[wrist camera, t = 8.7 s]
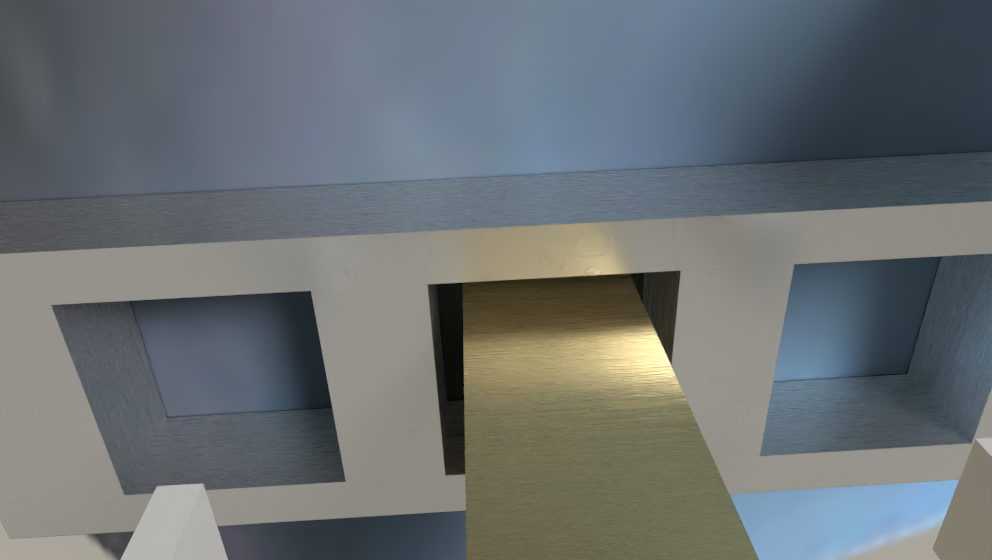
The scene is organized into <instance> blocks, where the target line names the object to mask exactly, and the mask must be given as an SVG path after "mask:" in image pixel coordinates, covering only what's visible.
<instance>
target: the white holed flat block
mask: <svg viewBox="0 0 992 560" xmlns="http://www.w3.org/2000/svg"><path fill="white" fill-rule="evenodd" d="M937 256H941V259H940V263H939V266H938V270H937V273H936V277H935V280H934V284H933V287H932V290H931V294H930V297H929V301H928V304H927V308H926V311H925V315H924V318H923V321H922V325H921V328H920V332H919V335H918V339H917V342H916V346H915V349H914V352H913V356H912V359H911V363H910V366H909V370H908V373H907V374H903V375H886V376H869V377H852V378H835V379H818V380H801V381H784V382H773V380H774V374H775V369H776V363H777V358H778V352H779V347H780V341H781V336H782V330H783V325H784V319H785V314H786V308H787V303H788V297H789V292H790V286H791V281H792V275H793V270H794V264H809V263H827V262H846V261H864V260H882V259H900V258H918V257H937ZM627 273H644V286H643V300H642V303H643V305H644V307H645V309H646V311H647V314H648V316H649V318H650V320H651V322H652V325H653V327H654V329H655V331H656V333H657V336H658V338H659V340H660V342H661V345H662V347H663V349H664V351H665V353H666V356H667V358H668V360H669V362H670V364H671V367H672V369H673V371H674V373H675V375H676V378H677V380H678V382H679V384H680V386H681V389H682V391H683V393H684V395H685V398H686V400H687V402H688V404H689V406H690V409H691V411H692V413H693V415H694V417H695V420H696V422H697V424H698V426H699V428H700V431H701V433H702V435H703V437H704V439H705V442H706V444H707V446H708V448H709V451H710V453H711V455H712V457H713V459H714V462H715V464H716V466H717V468H718V470H719V473H720V475H721V477H722V479H723V481H724V484H725V486H726V488H727V490H728V492H729V494H737V493H753V492H769V491H785V490H801V489H817V488H833V487H849V486H865V485H881V484H897V483H913V482H929V481H945V480H960V477H961V475H962V472H963V469H964V467H965V464H966V462H967V459H968V456H969V454H970V451H971V449H972V446H973V444H974V441H975V439H979V438H992V152H973V153H954V154H934V155H915V156H895V157H876V158H856V159H837V160H817V161H798V162H778V163H759V164H739V165H720V166H700V167H681V168H661V169H642V170H622V171H603V172H583V173H564V174H544V175H525V176H505V177H486V178H466V179H447V180H427V181H408V182H388V183H369V184H349V185H330V186H311V187H291V188H272V189H252V190H233V191H213V192H194V193H174V194H155V195H135V196H116V197H96V198H77V199H57V200H38V201H18V202H0V520H1V522H2V524H3V526H4V528H5V530H6V532H7V533H8V536H9V538H10V539H17V538H33V537H49V536H65V535H81V534H97V533H113V532H129V531H135V530H136V528H137V526H138V524H139V522H140V520H141V518H142V516H143V514H144V512H145V510H146V508H147V505H148V503H149V501H150V499H151V497H152V495H153V493H154V491H155V489H156V487H157V486H169V485H186V484H204V487H205V491H206V494H207V497H208V500H209V503H210V506H211V509H212V512H213V515H214V518H215V521H216V524H217V526H225V525H241V524H257V523H273V522H289V521H305V520H321V519H337V518H353V517H369V516H385V515H401V514H417V513H433V512H449V511H465V510H466V491H465V418H464V400H461V401H447V397H446V385H445V374H444V362H443V351H442V339H441V328H440V316H439V305H438V293H437V284H444V283H462V282H481V281H499V280H517V279H535V278H554V277H572V276H590V275H608V274H627ZM298 291H311V295H312V300H313V305H314V311H315V316H316V322H317V327H318V333H319V338H320V344H321V349H322V355H323V360H324V365H325V371H326V376H327V382H328V387H329V393H330V398H331V404H332V408H325V409H308V410H291V411H274V412H257V413H240V414H223V415H206V416H189V417H172V418H167V416H166V412H165V409H164V406H163V403H162V400H161V397H160V394H159V391H158V388H157V385H156V382H155V379H154V375H153V372H152V369H151V366H150V363H149V360H148V357H147V354H146V351H145V348H144V345H143V342H142V338H141V335H140V332H139V329H138V326H137V323H136V320H135V317H134V314H133V311H132V308H131V304H130V301H134V300H152V299H171V298H189V297H207V296H225V295H243V294H262V293H280V292H298Z"/></svg>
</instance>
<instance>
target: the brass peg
mask: <svg viewBox="0 0 992 560" xmlns="http://www.w3.org/2000/svg"><path fill="white" fill-rule="evenodd" d="M463 345H464V418H465V491H466V560H759V559H758V557H757V554H756V552H755V550H754V548H753V546H752V543H751V541H750V539H749V537H748V534H747V532H746V530H745V528H744V526H743V523H742V521H741V519H740V517H739V515H738V512H737V510H736V508H735V506H734V504H733V501H732V499H731V497H730V495H729V492H728V490H727V488H726V486H725V484H724V481H723V479H722V477H721V475H720V473H719V470H718V468H717V466H716V464H715V462H714V459H713V457H712V455H711V453H710V451H709V448H708V446H707V444H706V442H705V439H704V437H703V435H702V433H701V431H700V428H699V426H698V424H697V422H696V420H695V417H694V415H693V413H692V411H691V409H690V406H689V404H688V402H687V400H686V398H685V395H684V393H683V391H682V389H681V386H680V384H679V382H678V380H677V378H676V375H675V373H674V371H673V369H672V367H671V364H670V362H669V360H668V358H667V356H666V353H665V351H664V349H663V347H662V345H661V342H660V340H659V338H658V336H657V333H656V331H655V329H654V327H653V325H652V322H651V320H650V318H649V316H648V314H647V311H646V309H645V307H644V305H643V303H642V300H641V298H640V296H639V294H638V292H637V289H636V287H635V285H634V283H633V280H632V278H631V276H630V274H629V273H627V274H608V275H590V276H572V277H554V278H535V279H517V280H499V281H481V282H463Z"/></svg>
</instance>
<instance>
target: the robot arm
mask: <svg viewBox="0 0 992 560" xmlns="http://www.w3.org/2000/svg"><path fill="white" fill-rule="evenodd" d="M933 550H934V552H935V553H936V554H937V556H938V557H939V559H940V560H992V438H979V439H975V441H974V444H973V446H972V449H971V451H970V454H969V456H968V459H967V462H966V464H965V467H964V469H963V472H962V475H961V477H960V480H959V482H958V485H957V487H956V490H955V493H954V495H953V498H952V500H951V503H950V506H949V508H948V511H947V513H946V516H945V518H944V521H943V524H942V526H941V529H940V532H939V534H938V537H937V539H936V542H935V544H934V547H933ZM121 560H228V558H227V555H226V552H225V549H224V546H223V543H222V540H221V537H220V534H219V531H218V527H217V524H216V521H215V518H214V515H213V512H212V509H211V506H210V503H209V500H208V497H207V494H206V491H205V487H204V484H186V485H169V486H157V487H156V489H155V491H154V493H153V495H152V497H151V499H150V501H149V503H148V505H147V508H146V510H145V512H144V514H143V516H142V518H141V520H140V522H139V524H138V526H137V528H136V530H135V532H134V534H133V536H132V538H131V540H130V542H129V544H128V546H127V548H126V550H125V552H124V554H123V556H122V558H121Z"/></svg>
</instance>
